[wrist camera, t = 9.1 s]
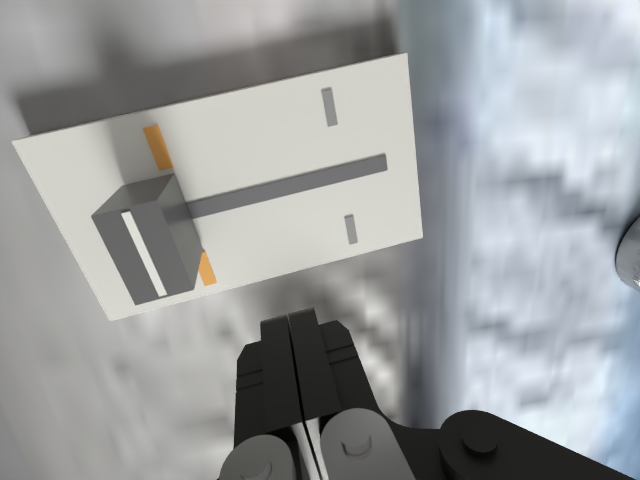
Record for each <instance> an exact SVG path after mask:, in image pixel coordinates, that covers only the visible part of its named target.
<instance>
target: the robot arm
mask: <svg viewBox="0 0 640 480" xmlns="http://www.w3.org/2000/svg"><path fill="white" fill-rule="evenodd" d="M616 268H617V273H618V275H619V277H620V279H621V280H622V281H623V282H624V283H625V284H626V285H628V286H630V287H632V288H633V289H635V290H637V291H639V292H640V217H639V218H638V219H637V220H636V221H635V222H634V223H633V225H632V226H631V227H630V228H629V230H628V231H627V233H626V235H625V236H624V238H623V240H622V242H621V244H620V247H619V250H618V254H617V259H616ZM288 315H289V321H288V317H287V315H283V316H279V317H276V318H272V319H268V320H264V321H261V322H260V327H261V341H258V342H254V343H251V344H247V345H245V347H244V349H243V350H242V352H241V354H240V356H239V358H238V360H237V379H236V391H237V393H236V404H235V429H234V448H233V451H232V452H231V453H230V454H229V455H228V457H227V458H226V460H225V462H224V463H223V466H222V468H221V471H220V476H219V478H218V479H217V480H322V477H323V480H636V479H633V478H631V477H629V476H627V475H625V474H622V473H620V472H618V471H616V470H614V469H611V468H609V467H607V466H605V465H603V464H600V463H598V462H596V461H594V460H592V459H590V458H587V457H585V456H583V455H581V454H579V453H576V452H574V451H572V450H570V449H568V448H565V447H563V446H561V445H559V444H557V443H555V442H552V441H550V440H548V439H546V438H544V437H541V436H539V435H537V434H535V433H533V432H530V431H528V430H526V429H524V428H522V427H519V426H517V425H515V424H513V423H511V422H509V421H506V420H504V419H502V418H500V417H498V416H495V415H493V414H490V413H488V412H484V411H479V410H465V411H460V412H457V413H455V414H453V415H451V416H450V417H448V418H447V419H446V420H445V421H444V423H443V424H442V426H441V428H440V429H417V428H409V427H405V426H402V425H399V424H397V423H395V422H393V421H391V420H390V419H388V418H387V417H386V416H385V415H384V414H383V413H382V412H381V410H380V409H379V407H378V405H377V403H376V400H375V398H374V395H373V393H372V390H371V387H370V385H369V382H368V380H367V377H366V374H365V372H364V369H363V366H362V364H361V361H360V359H359V356H358V353H357V351H356V348H355V346H354V343H353V340H352V338H351V335H350V333H349V330H348V329H347V328H345V327H344V326H343V325H342V324H341V323H339V322H338V321H337V320H336V321H332V322H328V323H325V324H321V325H318V322H317V318H316V314H315V311H314V307H313V308H309V309H305V310H302V311H298V312H294V313H290V314H288ZM289 322H290V324H289ZM320 470H321V471H320ZM321 474H322V477H321Z"/></svg>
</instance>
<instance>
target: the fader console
mask: <svg viewBox="0 0 640 480" xmlns="http://www.w3.org/2000/svg"><path fill="white" fill-rule="evenodd" d="M11 142H12V144H13V145H14V147H15V149H16V151H17V153H18V154H19V156H20V158H21V160H22V162H23V164H24V165H25V167H26V169H27V171H28V173H29V175H30V176H31V178H32V180H33V182H34V184H35V185H36V187H37V189H38V191H39V193H40V195H41V196H42V198H43V200H44V202H45V204H46V206H47V207H48V209H49V211H50V213H51V215H52V216H53V218H54V220H55V222H56V224H57V226H58V227H59V229H60V231H61V233H62V235H63V237H64V238H65V240H66V242H67V244H68V246H69V247H70V249H71V251H72V253H73V255H74V257H75V258H76V260H77V262H78V264H79V266H80V268H81V269H82V271H83V273H84V275H85V277H86V278H87V280H88V282H89V284H90V286H91V288H92V289H93V291H94V293H95V295H96V297H97V299H98V300H99V302H100V304H101V306H102V308H103V309H104V311H105V313H106V315H107V317H108V319H109V320H110V321H113V320H117V319H121V318H124V317H128V316H132V315H136V314H139V313H143V312H147V311H150V310H154V309H158V308H162V307H165V306H169V305H173V304H177V303H180V302H184V301H188V300H192V299H195V298H199V297H203V296H206V295H210V294H214V293H218V292H221V291H225V290H229V289H233V288H236V287H240V286H244V285H248V284H251V283H255V282H259V281H262V280H266V279H270V278H274V277H277V276H281V275H285V274H289V273H292V272H296V271H300V270H303V269H307V268H311V267H315V266H318V265H322V264H326V263H330V262H333V261H337V260H341V259H345V258H348V257H352V256H356V255H359V254H363V253H367V252H371V251H374V250H378V249H382V248H386V247H389V246H393V245H397V244H400V243H404V242H408V241H412V240H415V239H419V238H423V233H422V222H421V210H420V198H419V187H418V175H417V163H416V151H415V140H414V128H413V116H412V105H411V93H410V81H409V69H408V58H407V53H401V54H393V55H388V56H384V57H380V58H375V59H371V60H366V61H362V62H357V63H353V64H348V65H344V66H339V67H335V68H330V69H326V70H321V71H317V72H312V73H308V74H303V75H299V76H294V77H290V78H285V79H281V80H276V81H272V82H267V83H263V84H259V85H254V86H250V87H245V88H241V89H236V90H232V91H227V92H223V93H218V94H214V95H209V96H205V97H200V98H196V99H191V100H187V101H182V102H178V103H173V104H169V105H164V106H160V107H155V108H151V109H146V110H142V111H138V112H133V113H129V114H124V115H120V116H115V117H111V118H106V119H102V120H97V121H93V122H88V123H84V124H79V125H75V126H70V127H66V128H61V129H57V130H52V131H48V132H43V133H39V134H34V135H30V136H27V137H24V138H20V139H17V140H14V141H11ZM173 173H175V175H176V178H177V181H178V184H179V186H180V189H181V192H182V194H183V197H184V200H185V202H186V205H187V208H188V210H189V213H190V216H191V218H192V221H193V224H194V226H195V229H196V232H197V234H198V237H199V240H200V242H201V245H202V248H203V251H202V256H201V260H200V265H199V269H198V274H197V279H196V283H195V288H194V290H192V291H188V292H184V293H181V294H177V295H173V296H169V297H166V298H162V299H158V300H154V301H151V302H147V303H143V304H139V305H136V306H135V304H134V302H133V300H132V298H131V296H130V294H129V292H128V290H127V288H126V286H125V284H124V282H123V280H122V278H121V276H120V274H119V272H118V270H117V268H116V266H115V264H114V262H113V260H112V258H111V256H110V254H109V252H108V250H107V248H106V246H105V244H104V242H103V240H102V238H101V236H100V234H99V232H98V230H97V228H96V226H95V224H94V222H93V220H92V218H91V215H92V214H93V213H94V212H95V211H96V210H97V209H98V208H99V207H100V206H101V205H102V204H104V203H105V202H106V201H107V200H108V199H109V198H110V197H111V196H112V195H113V194H114V193H115V192H116V191H117V190H118V189H119V188H120V187H121V186H122V185H127V184H131V183H135V182H139V181H143V180H147V179H152V178H156V177H160V176H164V175H168V174H173Z"/></svg>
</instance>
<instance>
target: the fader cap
mask: <svg viewBox="0 0 640 480" xmlns="http://www.w3.org/2000/svg"><path fill="white" fill-rule="evenodd" d="M91 218H92V220H93V222H94V224H95V226H96V228H97V230H98V232H99V234H100V236H101V238H102V240H103V242H104V244H105V246H106V248H107V250H108V252H109V254H110V256H111V258H112V260H113V262H114V264H115V266H116V268H117V270H118V272H119V274H120V276H121V278H122V280H123V282H124V284H125V286H126V288H127V290H128V292H129V294H130V296H131V298H132V300H133V302H134V304H135V306H136V305H139V304H143V303H147V302H151V301H154V300H158V299H162V298H166V297H169V296H173V295H177V294H181V293H184V292H188V291H192V290H194V288H195V283H196V279H197V274H198V269H199V265H200V260H201V256H202V251H203V248H202V245H201V242H200V240H199V237H198V234H197V232H196V229H195V226H194V224H193V221H192V218H191V216H190V213H189V210H188V208H187V205H186V202H185V200H184V197H183V194H182V192H181V189H180V186H179V184H178V181H177V178H176V175H175V173H173V174H168V175H164V176H160V177H156V178H152V179H147V180H143V181H139V182H135V183H131V184H127V185H122V186H121V187H120V188H119V189H118V190H117V191H116V192H115V193H114V194H113V195H112V196H111V197H110V198H109V199H108V200H107V201H106V202H105V203H104V204H102V205H101V206H100V207H99V208H98V209H97V210H96V211H95V212H94V213H93V214H92V215H91Z"/></svg>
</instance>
